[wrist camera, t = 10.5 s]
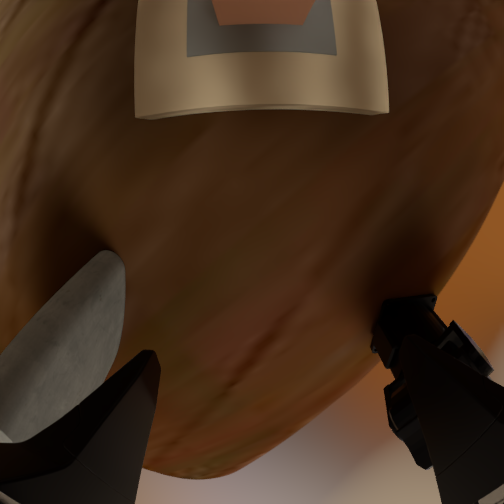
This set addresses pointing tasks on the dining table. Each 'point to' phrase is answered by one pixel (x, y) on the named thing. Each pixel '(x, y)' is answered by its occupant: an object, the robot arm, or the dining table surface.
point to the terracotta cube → (262, 11)
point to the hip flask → (63, 350)
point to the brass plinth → (258, 61)
